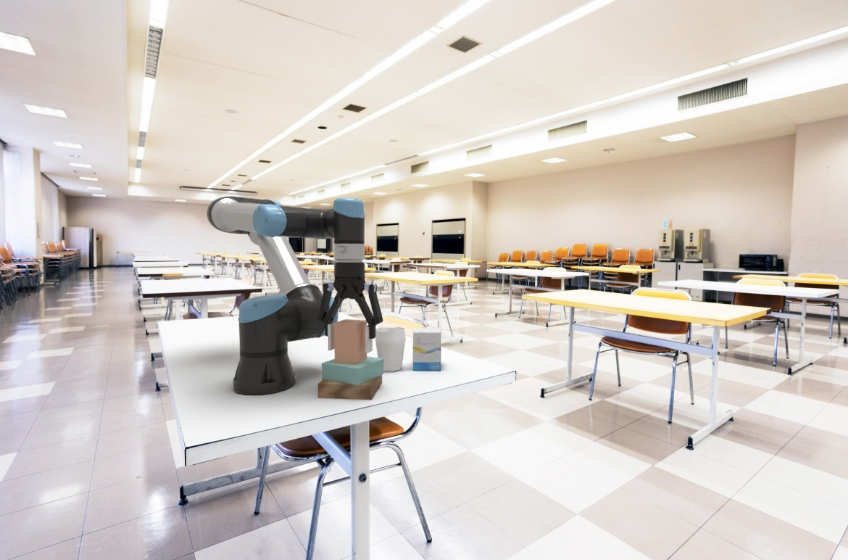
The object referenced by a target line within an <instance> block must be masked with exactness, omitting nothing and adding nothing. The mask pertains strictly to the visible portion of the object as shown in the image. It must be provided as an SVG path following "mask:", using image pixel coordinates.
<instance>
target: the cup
mask: <svg viewBox="0 0 848 560" xmlns="http://www.w3.org/2000/svg"><path fill="white" fill-rule="evenodd" d="M374 339H375V340H374V341H375V346H376V353H377V354H376V355H377V358H382V359H384V372H385V373H386V372H387V373H388V372H389V373H391V372H392V373H394V372H398V371H401V370H402V368H403V360H404V352H405V345H406V339H407V338H406V329H405V328H404V327H401V326H399V327H398V326H382V327H377V328H376V337H375V338H374Z"/></svg>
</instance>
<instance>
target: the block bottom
mask: <svg viewBox="0 0 848 560" xmlns="http://www.w3.org/2000/svg"><path fill="white" fill-rule="evenodd" d="M382 384H383V374H382V375H380V376H378V377H376V378H374V379H372V380H369V381H367V382H365V383H363V384H361V385H358V386H357V385H352V384H346V383H341V382H335V381H329V380H324V379H321V380H320V381H319V382H318V383H317V399H332V400H333V399H334V400H337V399H338V400H339V399H340V400H358V401H359V400H362V401H363V400H365V401H372V400H373V398H374V397H375V395H376V393H377V392H378V390H379V389H380V388H381V385H382Z"/></svg>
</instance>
